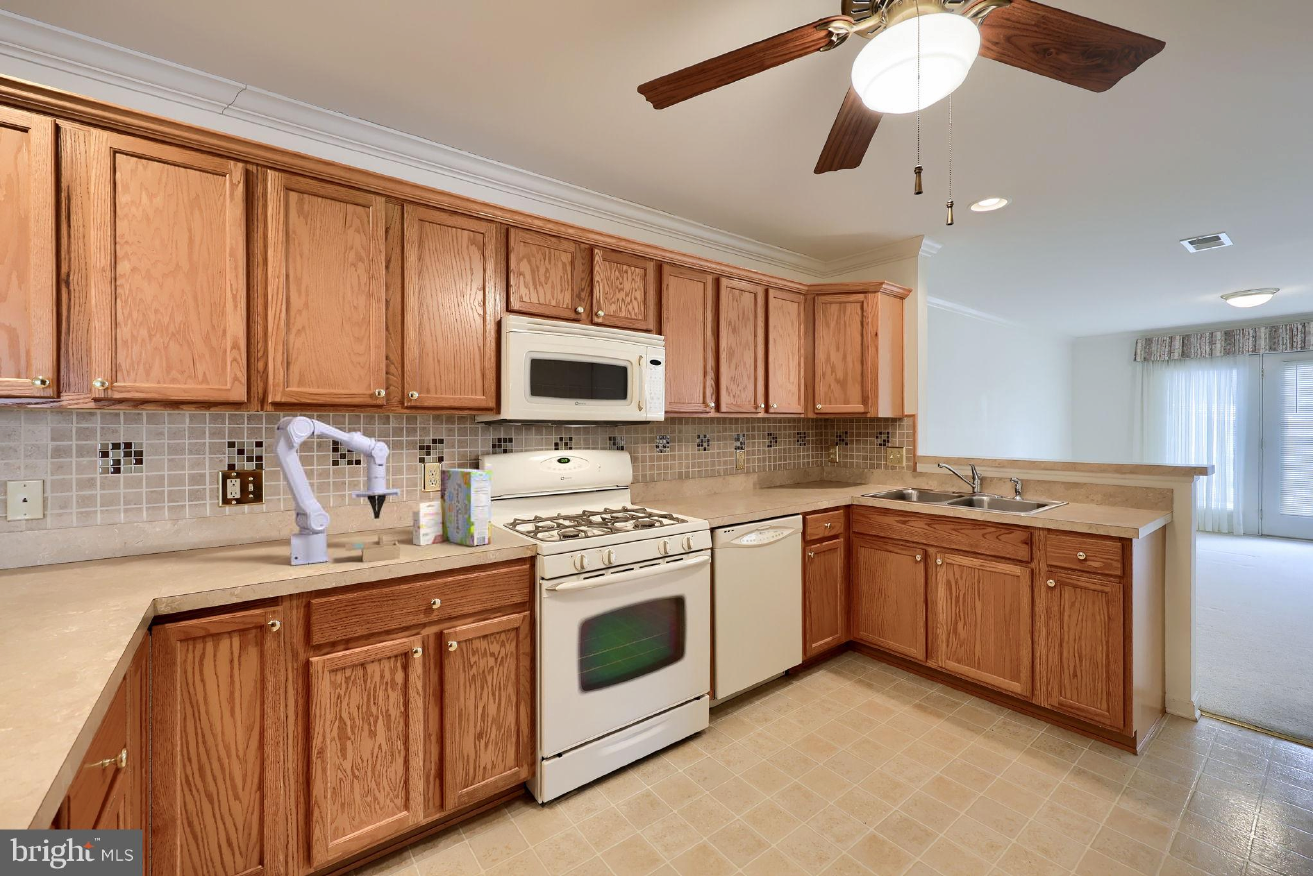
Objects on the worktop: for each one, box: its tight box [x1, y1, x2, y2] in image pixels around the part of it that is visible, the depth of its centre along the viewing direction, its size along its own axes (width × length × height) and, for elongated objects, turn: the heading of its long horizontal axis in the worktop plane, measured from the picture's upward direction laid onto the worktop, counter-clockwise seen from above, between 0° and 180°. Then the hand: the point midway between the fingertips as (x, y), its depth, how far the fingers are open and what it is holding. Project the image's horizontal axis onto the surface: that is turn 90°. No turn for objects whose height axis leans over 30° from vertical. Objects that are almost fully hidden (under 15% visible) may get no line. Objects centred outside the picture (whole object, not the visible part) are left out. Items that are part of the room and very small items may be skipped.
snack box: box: [439, 468, 492, 547], centre depth 199 cm, size 22×9×26 cm, turn 49°
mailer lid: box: [344, 534, 384, 552], centre depth 172 cm, size 10×8×3 cm
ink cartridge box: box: [412, 500, 443, 546], centre depth 196 cm, size 9×5×15 cm, turn 143°
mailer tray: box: [361, 540, 401, 563], centre depth 174 cm, size 10×8×4 cm
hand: (376, 518), depth 186 cm, fingers closed
